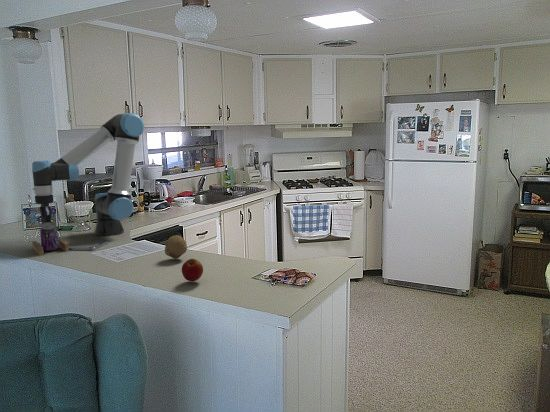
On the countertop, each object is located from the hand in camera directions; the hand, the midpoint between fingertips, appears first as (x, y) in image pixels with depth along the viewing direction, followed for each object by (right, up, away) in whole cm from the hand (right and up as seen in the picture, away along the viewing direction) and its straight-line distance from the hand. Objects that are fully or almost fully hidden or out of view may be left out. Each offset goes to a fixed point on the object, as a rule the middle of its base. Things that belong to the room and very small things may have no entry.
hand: (48, 244), depth 213 cm
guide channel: (+2, -2, -2) cm, 4 cm away
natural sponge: (+65, -4, -20) cm, 68 cm away
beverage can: (+2, -1, -3) cm, 4 cm away
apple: (+77, -9, -50) cm, 92 cm away
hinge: (+19, -2, 0) cm, 19 cm away
